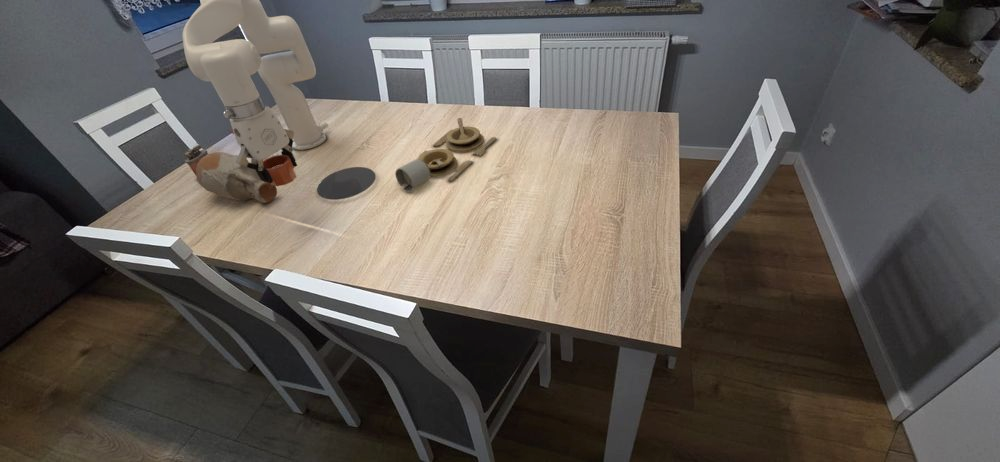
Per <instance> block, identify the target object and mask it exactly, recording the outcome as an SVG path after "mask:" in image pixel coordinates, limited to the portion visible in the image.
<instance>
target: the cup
mask: <svg viewBox="0 0 1000 462" xmlns="http://www.w3.org/2000/svg"><path fill="white" fill-rule="evenodd" d="M263 168H266V169H267V171H268V172H269V174H270V176H271V178H272V180H273V182H272V183H271V185H274V186H276V187H281V186H285V185H288V184H290V183H292V182H294V180H295V179H296V178H297V174H296V171H295V167H294V165H293V163H292V161H291V159H290V157H289V156H288V155H282V154H276V155H271V156H269V157H268V158H266V159H264V160H263Z"/></svg>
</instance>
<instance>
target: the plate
mask: <svg viewBox="0 0 1000 462" xmlns="http://www.w3.org/2000/svg"><path fill="white" fill-rule="evenodd" d="M376 178H377V177H376V173H375V171H373V169H371V168H368V167H364V166H353V167H346V168H343V169H339V170H336V171H334V172H332V173H331V174H329V175H327V176H325V177H324V178H323V179H321V181H320V182H319V183H318V185H317V187H316V192H317V195H318V196H319V197H321V198H322V199H325V200H335V201H336V200H338V201H339V200H344V199H349V198H353V197H355V196H357V195H359V194H361V193H363V192H365V191H367V190H368V189H369V188H371V186H373V184H374V183H375V181H376Z"/></svg>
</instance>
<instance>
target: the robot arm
mask: <svg viewBox="0 0 1000 462" xmlns="http://www.w3.org/2000/svg"><path fill="white" fill-rule="evenodd" d="M199 1H200V5H199V6H198V8H197V9H195V11H194V12H193V13H192V14H191V16H190V17H189V19H188V20H187V21H186V23H185V25H184V28H183V30H182V44H183V51H184V56H185V60H186V63H187V66H188V68H189V70H190V71H191V73H192V74H193V75H194V76H195V77H196V78H197V79H199V80H201V81H202V82H203V81H204V82H211V84H212V86H213V88H214V90H215V91H216V93H217V95H218V96H219V98H220V100H221V102H222V104H223V105H224V106H223V107H224V109H225V111H224V112H222V116H224V118H226V119H228V118H230V119H229V123H230V125H231V130H233V131H232V132H234V134H235V135H234V134H233V135H234V136H235V139H236V141H237V143H238V145H239V147H240V151H239V153H238V155H237V156H238V159H237V161H236V162H237V164H239V165H242V166H245V167H247V168H251V169H255V170H256V172H257V174H258V176H259V177H260V179H261V180H262V181H264V182H267V183H272V182H273V180H272V178H271V176H270V174H269V172H268V171H267V169H266V168H263V161H264V160H265V159H268V158H270V157H272V156H274V154H277V153H278V152H279V151H280V153H281V154H280V155H288V156H289V157H290V159H291V161H292V163H293V165H294V168H296V167H298V164H297V162H296V158H295V156H294V154H293V150H297V151H304V150H310V149H313V148H316V147H318V146H320V145H322V144H323V143H324V142H325V141H326V140H327V136H326V133H325V132H323V131H324V130H325V129H327V128H328V127H329V124H328V123H327V122H326V121H325V122H323V123H321V124H320V123H316V121H315V118H314V116H313V113H312V111H311V108H310V106H309V104H308V101H307V99H306V96H305V94H304V93H303V91H302V90H300V88H298V87H297V86H296V85H294V83H299V82H303V81H307V80H312V79H314V78H315V77H316V76H317V68H316V65H315V61H314V60H313V57H312V54H311V52H310V50H309V48H308V45H307V43H306V40H305V38H304V35H303V33H302V30H301V28H300V26H299V25H298V23H297V22H296V21H295V19H294V18H293V17H291V16H289V15H278V16H270V17H269V16H268V14H267V13H266V11H265V9H264V7H263V4H262V2H261V1H260V0H199ZM237 27H239V29H240V31H241V32H242V34H243V36H244V38H235V39H229V40H224V41H217V40H218V39H219V38H221V37H223V36H224V35H226V34H228V33H230V32H232V31H233V30H234V29H236V28H237ZM215 41H216V42H215ZM261 54H262V55H263V54H267V55H264V56H261ZM256 73H258V74H259V76H260V78H261V80H262V81H263V83H264V84H265V85H266V87H267V89H268V90H269V92H270V94H271V96H272V97H273V100H274V102H275V104H276V106H277V109H278V110H279V112H280V115H281V116H282V118H283V120H284V123H285V125H286V127H287V129H286V128H284V126H283V125H282V123H281V122H280V120H279V118H278V117H277V115H276V114H275V113H274V111H273V110H272V109H271V108H270V106H268V105H265V103H264V101H263V99H262V97H261V95H260V93H259V91H258V88H257V87H256V85H255V82H254V81H253V79H252V77H251V76H253V75H254V74H256ZM246 159H247V160H248V159H250V162H249V161H248V162H247V161H246Z"/></svg>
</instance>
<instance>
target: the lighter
mask: <svg viewBox="0 0 1000 462" xmlns="http://www.w3.org/2000/svg"><path fill="white" fill-rule="evenodd" d="M208 154H209V153H208V150H207V149H203V147H202V145H201V144H196V145H195V146H194V147H192V148H188V149H187V151H186V152H185V153H184V155H185V157H187V158H186V159H185V160H184V161H185V163H186V164H187V165H188V167H189V168H190V170H191V171H192V172H193V174H194V175H195V176H196V168H197V164H198V163H199V161H200V160H201V159H202V158H203V157H205V156H206V155H208Z"/></svg>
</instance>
